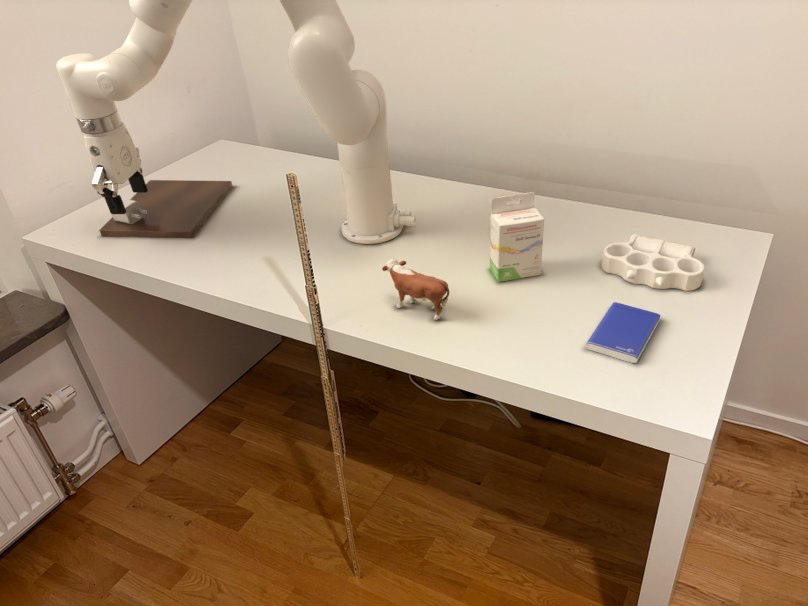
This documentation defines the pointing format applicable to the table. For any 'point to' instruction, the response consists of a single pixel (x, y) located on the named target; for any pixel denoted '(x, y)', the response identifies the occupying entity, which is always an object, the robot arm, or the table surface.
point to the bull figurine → (417, 286)
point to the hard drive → (623, 332)
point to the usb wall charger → (130, 212)
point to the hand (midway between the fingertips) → (130, 202)
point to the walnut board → (171, 209)
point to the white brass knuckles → (654, 263)
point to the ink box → (516, 237)
